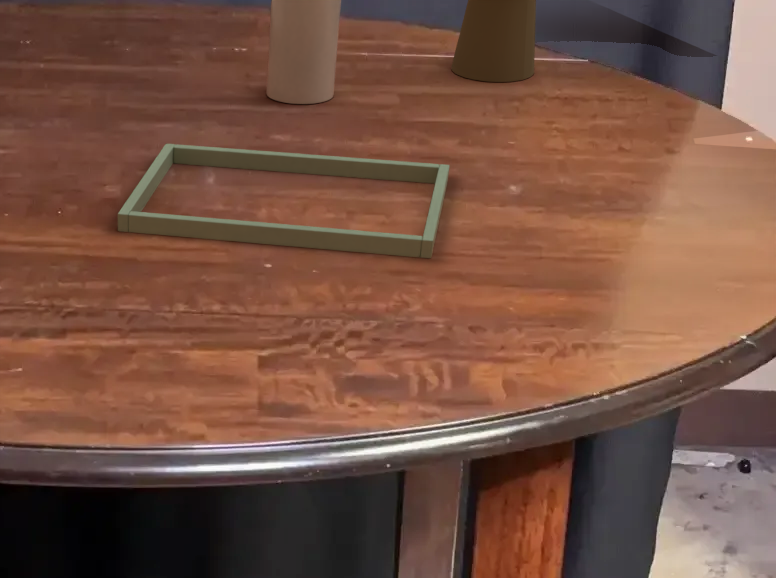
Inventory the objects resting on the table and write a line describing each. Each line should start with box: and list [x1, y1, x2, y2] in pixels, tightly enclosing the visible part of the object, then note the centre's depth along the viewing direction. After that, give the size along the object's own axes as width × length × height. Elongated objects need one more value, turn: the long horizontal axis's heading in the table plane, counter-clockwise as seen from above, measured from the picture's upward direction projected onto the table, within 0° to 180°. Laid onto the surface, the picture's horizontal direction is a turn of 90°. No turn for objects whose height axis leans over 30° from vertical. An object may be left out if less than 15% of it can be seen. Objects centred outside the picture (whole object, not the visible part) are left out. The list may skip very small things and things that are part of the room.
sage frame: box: [117, 143, 451, 259], centre depth 87 cm, size 17×12×2 cm
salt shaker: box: [265, 0, 342, 105], centre depth 104 cm, size 5×5×11 cm
